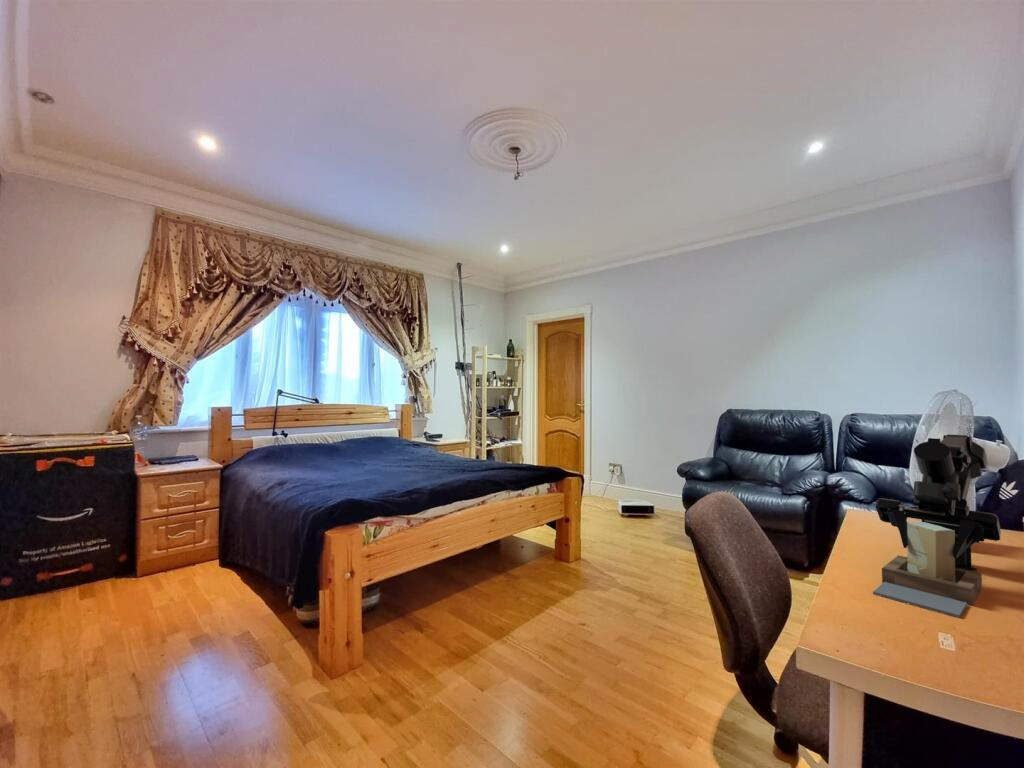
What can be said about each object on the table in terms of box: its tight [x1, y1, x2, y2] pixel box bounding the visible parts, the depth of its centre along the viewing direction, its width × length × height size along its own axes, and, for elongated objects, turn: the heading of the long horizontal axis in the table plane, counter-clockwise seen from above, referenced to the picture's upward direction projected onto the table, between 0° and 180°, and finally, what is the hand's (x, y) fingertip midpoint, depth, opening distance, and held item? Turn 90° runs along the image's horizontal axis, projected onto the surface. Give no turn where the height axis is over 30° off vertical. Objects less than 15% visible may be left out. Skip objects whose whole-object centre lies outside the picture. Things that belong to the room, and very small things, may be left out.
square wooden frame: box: [881, 555, 983, 607], centre depth 91 cm, size 13×13×3 cm
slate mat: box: [872, 582, 968, 619], centre depth 84 cm, size 8×12×1 cm, turn 37°
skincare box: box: [906, 521, 955, 582], centre depth 91 cm, size 6×4×12 cm
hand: (928, 551), depth 90 cm, fingers closed on skincare box, 7 cm apart
